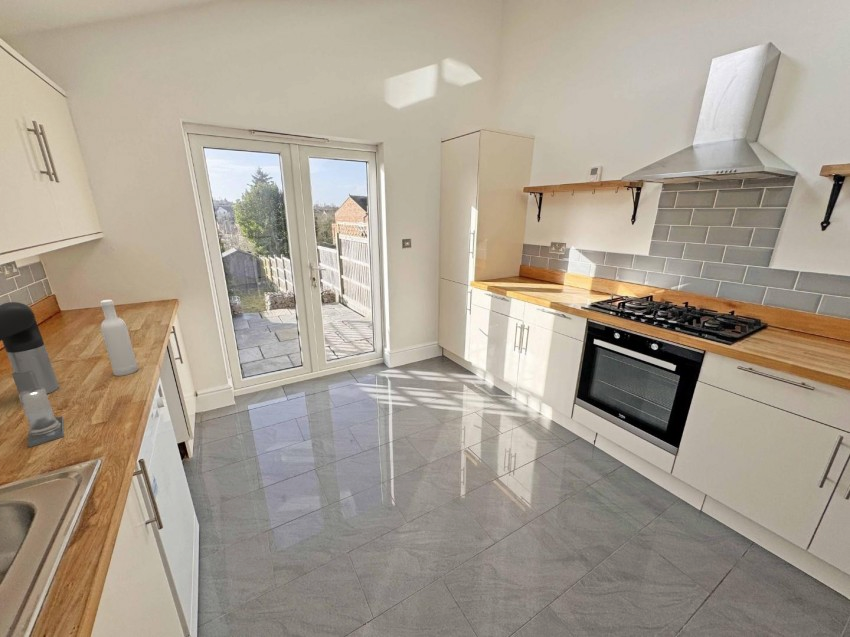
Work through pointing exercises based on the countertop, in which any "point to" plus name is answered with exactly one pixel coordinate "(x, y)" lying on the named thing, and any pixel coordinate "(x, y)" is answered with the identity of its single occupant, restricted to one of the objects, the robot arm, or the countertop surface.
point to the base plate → (47, 434)
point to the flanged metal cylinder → (38, 411)
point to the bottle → (117, 341)
